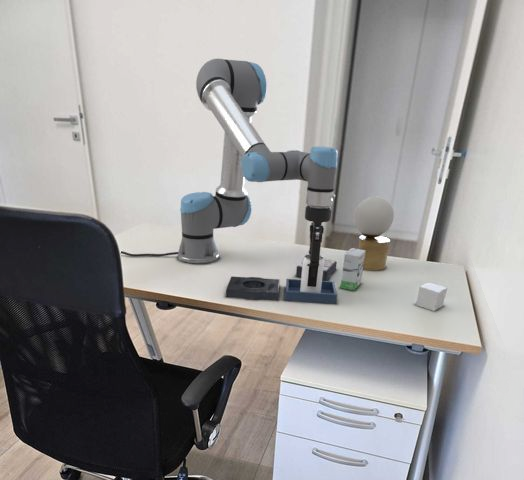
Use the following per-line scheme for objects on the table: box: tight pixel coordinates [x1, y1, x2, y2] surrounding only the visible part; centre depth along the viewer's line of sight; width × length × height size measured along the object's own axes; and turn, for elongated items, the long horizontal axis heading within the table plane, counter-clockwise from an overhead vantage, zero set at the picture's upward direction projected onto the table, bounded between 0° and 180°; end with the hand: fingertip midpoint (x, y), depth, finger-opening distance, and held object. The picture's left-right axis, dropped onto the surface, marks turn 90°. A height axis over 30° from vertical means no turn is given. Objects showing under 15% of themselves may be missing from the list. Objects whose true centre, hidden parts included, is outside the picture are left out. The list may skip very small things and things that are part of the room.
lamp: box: [353, 195, 395, 272], centre depth 163 cm, size 15×14×25 cm
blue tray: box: [284, 278, 338, 305], centre depth 138 cm, size 16×12×3 cm
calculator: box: [295, 258, 338, 281], centre depth 157 cm, size 11×4×15 cm
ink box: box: [339, 247, 365, 291], centre depth 145 cm, size 9×5×12 cm, turn 153°
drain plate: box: [225, 275, 281, 301], centre depth 139 cm, size 16×13×2 cm
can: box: [300, 253, 324, 293], centre depth 136 cm, size 6×6×12 cm
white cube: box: [415, 282, 448, 312], centre depth 134 cm, size 6×6×6 cm
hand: (311, 282), depth 137 cm, fingers closed on can, 6 cm apart
